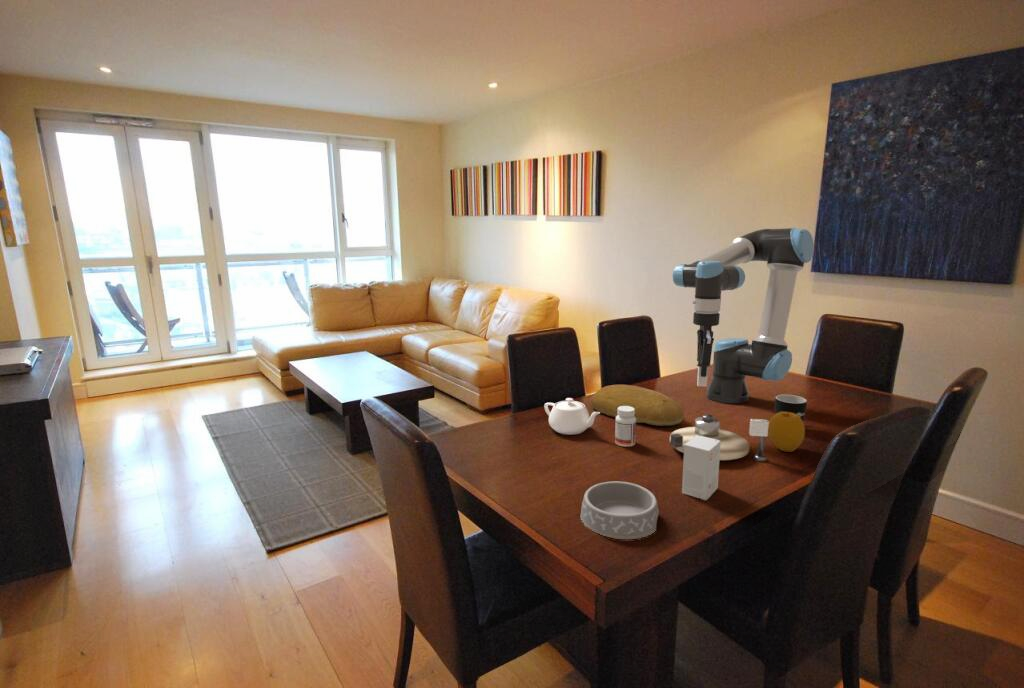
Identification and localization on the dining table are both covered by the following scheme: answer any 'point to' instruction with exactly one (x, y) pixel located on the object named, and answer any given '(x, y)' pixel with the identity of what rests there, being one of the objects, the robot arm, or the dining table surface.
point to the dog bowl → (620, 510)
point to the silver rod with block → (759, 429)
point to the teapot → (569, 417)
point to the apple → (786, 431)
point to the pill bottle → (625, 426)
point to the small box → (701, 467)
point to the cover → (707, 426)
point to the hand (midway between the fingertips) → (701, 385)
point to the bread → (638, 404)
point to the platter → (730, 442)
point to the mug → (791, 405)
